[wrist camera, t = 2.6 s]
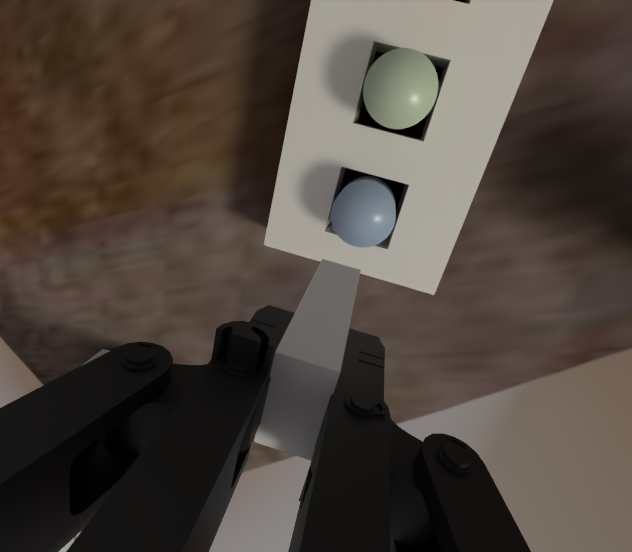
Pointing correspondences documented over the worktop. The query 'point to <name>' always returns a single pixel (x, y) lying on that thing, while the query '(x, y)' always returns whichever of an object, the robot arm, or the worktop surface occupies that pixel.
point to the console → (392, 148)
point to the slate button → (364, 212)
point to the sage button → (400, 88)
